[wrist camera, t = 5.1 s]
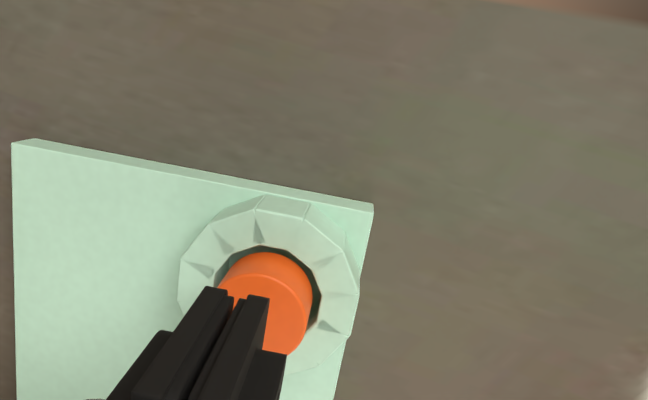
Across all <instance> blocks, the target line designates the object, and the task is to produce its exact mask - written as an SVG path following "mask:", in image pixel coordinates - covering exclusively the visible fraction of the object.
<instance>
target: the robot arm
mask: <svg viewBox="0 0 648 400" xmlns="http://www.w3.org/2000/svg"><path fill="white" fill-rule="evenodd" d="M269 303H270V298H267V297H262V296H257V295H251V294H249V295H248V296H247V299H243V298H239V300H238V302H237V304H236V306H235V308H234V309H233V306H234V297H232V296H228V291H227V290H226V289H221V288H216V287H211V286H205V287H204V289H203V290H202V291H201V293H200V294H199V296H198V297H197V299H196V300H195V301H194V303H193V304H192V306H191V307H190V309H189V310H188V311H187V313H186V314H185V316H184V317H183V319H182V320H181V321H180V323H179V324H178V326H177V327H176V329H175V330H174V331H173V332H171V331H166V330H159V331H158V332H157V333H156V334H155V336H154V337H153V338H152V340H151V341H150V342H149V343H148V345H147V346H146V347H145V349H144V350H143V351H142V353H141V354H140V355H139V357H138V358H137V359H136V361H135V362H134V363H133V364H132V366H131V367H130V368H129V370H128V371H127V372H126V374H125V375H124V376H123V378H122V379H121V380H120V382H119V383H118V384H117V385H116V387H115V388H114V389H113V391H112V392H111V393H110V395H109V396H108V397H107V399H106V400H279V398H280V393H281V388H282V382H283V377H284V371H285V366H286V360H287V354H282V353H277V352H272V351H266V350H262V348H263V342H264V335H265V329H266V322H267V316H268V310H269ZM86 400H105V399H86Z"/></svg>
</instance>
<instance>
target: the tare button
mask: <svg viewBox="0 0 648 400" xmlns="http://www.w3.org/2000/svg"><path fill="white" fill-rule="evenodd" d="M217 288H221V289H226V290H227V291H228V296H232V297H234V306H233V309H234V308H235V306H236V304H237V302H238V300H239V298H243V299H247V296H248V295H249V294H251V295H257V296H262V297H267V298H270V303H269V310H268V316H267V322H266V329H265V335H264V342H263V348H262V350H266V351H272V352H277V353H282V354H287V356H288V355H289V354H291V353H292V352H293V351H294V350H295V349H296V348H297V347H298V346H299V344H300V343H301V341H302V340H303V337H304V335H305V332H306V328H307V323H308V319H309V314H310V310H311V305H312V298H313V296H312V287H311V284H310V281H309V279H308V277H307V275H306V274H305V272H304V271H303V270H302V269H301V267H300V266H298V265H297V264H296V263H295V262H294V261H292V260H291V259H289V258H287V257H285V256H283V255H280V254H277V253H271V252H258V253H253V254H249V255H247V256H244V257H243V258H241V259H239V260H238V261H237V262H235V263H234V264H233V265H232V267H231V268H230V269H229V271H228V272H227V274H226V275H225V276H224V278H223V279H222V281H221V282H220V284H219V285H218V287H217Z"/></svg>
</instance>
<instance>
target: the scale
mask: <svg viewBox="0 0 648 400" xmlns="http://www.w3.org/2000/svg"><path fill="white" fill-rule="evenodd" d="M11 164H12V210H13V255H14V301H15V346H16V392H17V400H86V399H105V400H106V399H107V397H108V396H109V395H110V393H111V392H112V391H113V389H114V388H115V387H116V385H117V384H118V383H119V382H120V380H121V379H122V378H123V376H124V375H125V374H126V372H127V371H128V370H129V368H130V367H131V366H132V364H133V363H134V362H135V361H136V359H137V358H138V357H139V355H140V354H141V353H142V351H143V350H144V349H145V347H146V346H147V345H148V343H149V342H150V341H151V340H152V338H153V337H154V336H155V334H156V333H157V332H158V331H159V330H166V331H171V332H173V331H174V330H175V329H176V327H177V326H178V324H179V323H180V321H181V320H182V319H183V317H184V316H185V314H186V313H187V311H188V310H189V309H190V307H191V306H192V304H193V303H194V301H195V300H196V299H197V297H198V296H199V294H200V293H201V291H202V290H203V289H204V287H205V286H211V287H216V288H217V287H218V285H219V284H220V282H221V281H222V279H223V278H224V276H225V275H226V274H227V272H228V271H229V269H230V268H231V267H232V265H233V264H234V263H235V262H237V261H238V260H239V259H241V258H243V257H244V256H247V255H249V254H253V253H258V252H271V253H277V254H280V255H283V256H285V257H287V258H289V259H291V260H292V261H294V262H295V263H296V264H297V265H298V266H300V267H301V269H302V270H303V271H304V272H305V274H306V275H307V277H308V279H309V281H310V284H311V287H312V296H313V298H312V305H311V310H310V314H309V319H308V323H307V328H306V332H305V335H304V337H303V340H302V341H301V343H300V344H299V346H298V347H297V348H296V349H295V350H294V351H293V352H292V353H291V354H289V355H288V356H287V360H286V366H285V371H284V377H283V382H282V388H281V393H280V398H279V400H333V398H334V394H335V389H336V385H337V380H338V376H339V371H340V366H341V362H342V357H343V353H344V348H345V344H346V340H347V339H348V338H349V336H350V335H351V332H352V327H353V323H354V318H355V314H356V309H357V305H358V300H359V295H360V275H361V271H362V266H363V262H364V257H365V253H366V248H367V244H368V239H369V234H370V230H371V225H372V221H373V216H374V208H373V204H372V203H367V202H362V201H357V200H351V199H346V198H341V197H336V196H331V195H326V194H320V193H315V192H310V191H305V190H300V189H295V188H289V187H284V186H279V185H274V184H269V183H264V182H258V181H253V180H248V179H243V178H238V177H233V176H227V175H222V174H217V173H212V172H207V171H202V170H196V169H191V168H186V167H181V166H176V165H171V164H165V163H160V162H155V161H150V160H145V159H140V158H134V157H129V156H124V155H119V154H114V153H109V152H103V151H98V150H93V149H88V148H83V147H78V146H72V145H67V144H62V143H57V142H52V141H47V140H41V139H36V138H33V139H28V140H23V141H17V142H12V143H11Z"/></svg>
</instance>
